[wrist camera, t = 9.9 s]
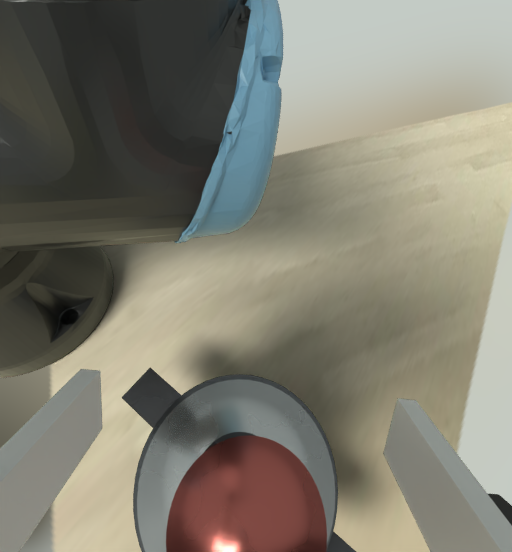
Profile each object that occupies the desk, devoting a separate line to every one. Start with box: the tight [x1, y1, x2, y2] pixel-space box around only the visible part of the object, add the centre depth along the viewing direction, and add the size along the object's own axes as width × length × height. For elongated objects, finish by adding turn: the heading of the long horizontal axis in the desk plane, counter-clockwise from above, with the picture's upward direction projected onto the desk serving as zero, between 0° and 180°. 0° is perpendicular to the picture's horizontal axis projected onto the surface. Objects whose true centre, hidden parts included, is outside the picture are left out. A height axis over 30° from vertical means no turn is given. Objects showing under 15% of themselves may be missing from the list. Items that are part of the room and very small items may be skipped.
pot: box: [122, 368, 356, 552], centre depth 20 cm, size 17×11×7 cm, turn 53°
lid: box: [137, 379, 335, 552], centre depth 11 cm, size 10×10×12 cm
